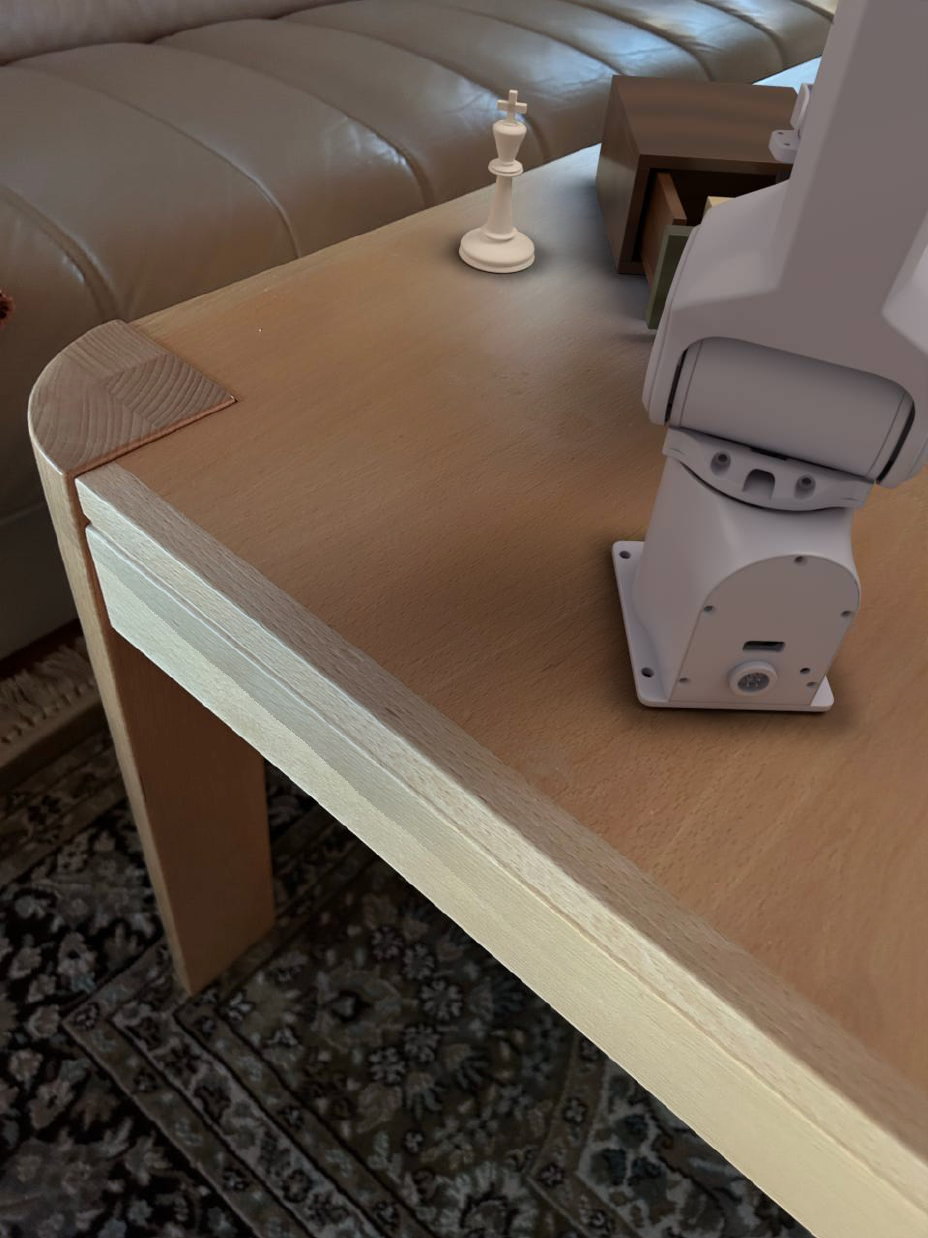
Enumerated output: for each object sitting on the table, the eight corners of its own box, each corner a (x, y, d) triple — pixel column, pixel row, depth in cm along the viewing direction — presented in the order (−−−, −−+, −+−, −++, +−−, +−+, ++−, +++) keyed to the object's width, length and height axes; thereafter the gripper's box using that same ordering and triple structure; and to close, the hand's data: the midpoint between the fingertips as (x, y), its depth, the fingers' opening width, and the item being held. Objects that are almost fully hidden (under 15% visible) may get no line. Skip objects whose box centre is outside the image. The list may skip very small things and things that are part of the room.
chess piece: (528, 278, 64) (549, 112, 57) (451, 265, 65) (463, 99, 58) (539, 243, 68) (561, 83, 61) (467, 231, 68) (479, 70, 61)
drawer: (860, 384, 57) (900, 289, 53) (659, 374, 56) (683, 277, 52) (788, 243, 69) (816, 156, 64) (621, 233, 68) (638, 144, 64)
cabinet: (806, 284, 67) (846, 166, 61) (616, 273, 66) (639, 153, 60) (762, 195, 76) (793, 86, 70) (594, 185, 75) (612, 73, 69)
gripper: (766, -27, 46) (695, 256, 56) (858, 93, 36) (752, 411, 46) (917, -15, 47) (820, 263, 57) (1048, 106, 37) (904, 418, 47)
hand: (799, 330), depth 51 cm, fingers closed
